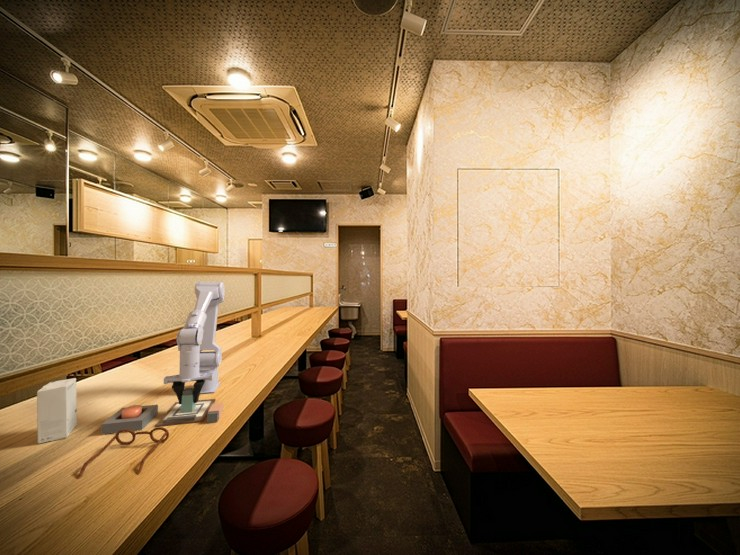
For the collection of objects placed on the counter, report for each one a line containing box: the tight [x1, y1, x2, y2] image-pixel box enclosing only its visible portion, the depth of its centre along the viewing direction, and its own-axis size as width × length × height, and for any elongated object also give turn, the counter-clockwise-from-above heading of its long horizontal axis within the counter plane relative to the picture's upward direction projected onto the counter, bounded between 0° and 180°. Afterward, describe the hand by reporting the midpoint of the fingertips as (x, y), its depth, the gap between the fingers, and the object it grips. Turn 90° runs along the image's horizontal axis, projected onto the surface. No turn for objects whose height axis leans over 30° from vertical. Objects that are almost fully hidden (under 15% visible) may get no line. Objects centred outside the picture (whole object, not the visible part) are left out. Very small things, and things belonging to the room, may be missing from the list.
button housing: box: [101, 404, 159, 435], centre depth 86 cm, size 10×10×3 cm
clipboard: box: [154, 398, 216, 428], centre depth 93 cm, size 15×13×2 cm
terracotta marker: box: [206, 402, 224, 424], centre depth 91 cm, size 7×3×3 cm, turn 16°
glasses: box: [76, 426, 170, 480], centre depth 70 cm, size 13×13×5 cm
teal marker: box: [181, 387, 196, 413], centre depth 93 cm, size 3×3×7 cm
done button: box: [122, 404, 143, 419], centre depth 86 cm, size 5×5×3 cm
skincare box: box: [36, 377, 78, 445], centre depth 79 cm, size 8×6×15 cm
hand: (189, 402), depth 94 cm, fingers open, 4 cm apart
